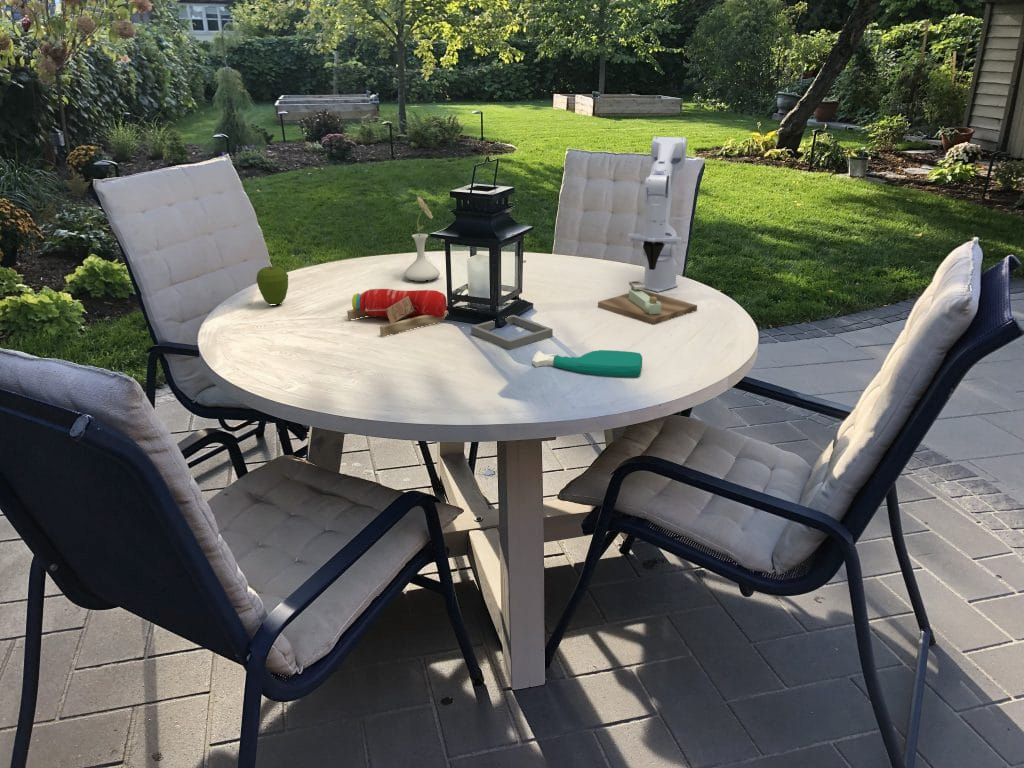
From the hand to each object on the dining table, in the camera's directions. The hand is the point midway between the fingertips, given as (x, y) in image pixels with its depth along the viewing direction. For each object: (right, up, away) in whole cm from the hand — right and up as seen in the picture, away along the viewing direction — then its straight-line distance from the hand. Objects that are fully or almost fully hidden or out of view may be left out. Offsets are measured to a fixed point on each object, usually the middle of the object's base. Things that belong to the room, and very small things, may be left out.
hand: (652, 268), depth 216 cm
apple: (-106, -10, +3) cm, 106 cm away
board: (-2, -11, -3) cm, 12 cm away
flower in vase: (-67, +1, +28) cm, 73 cm away
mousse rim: (-39, -20, -22) cm, 49 cm away
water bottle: (-69, -15, -10) cm, 72 cm away
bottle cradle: (-69, -15, -10) cm, 72 cm away
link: (-3, -11, -6) cm, 13 cm away
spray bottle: (-22, -29, -41) cm, 54 cm away
